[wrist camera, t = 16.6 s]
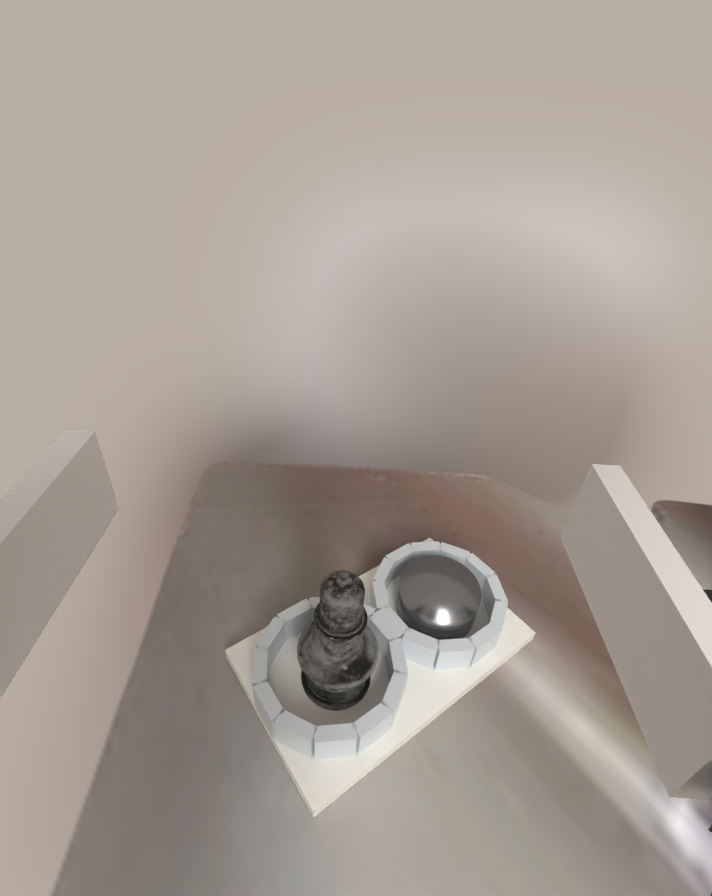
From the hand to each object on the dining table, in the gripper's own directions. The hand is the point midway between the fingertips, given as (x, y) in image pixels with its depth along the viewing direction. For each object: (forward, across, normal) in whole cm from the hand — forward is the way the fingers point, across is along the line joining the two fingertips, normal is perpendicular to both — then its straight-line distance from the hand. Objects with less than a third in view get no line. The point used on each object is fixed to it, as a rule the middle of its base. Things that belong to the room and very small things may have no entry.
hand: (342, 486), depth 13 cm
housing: (+13, +4, -28) cm, 31 cm away
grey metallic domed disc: (+16, +8, -28) cm, 33 cm away
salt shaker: (+10, 0, -27) cm, 29 cm away
